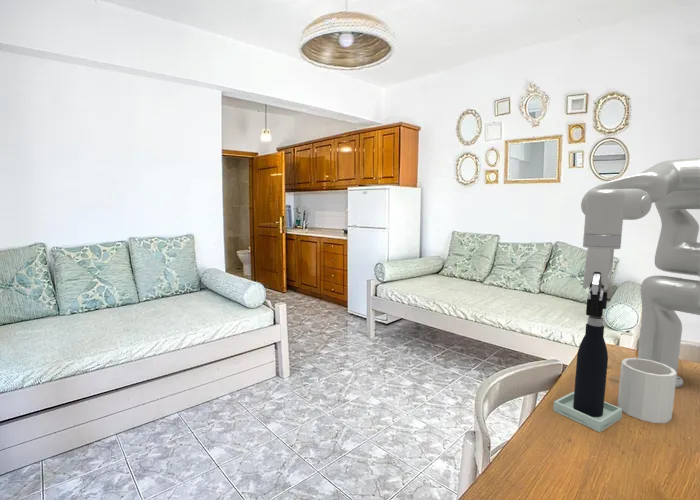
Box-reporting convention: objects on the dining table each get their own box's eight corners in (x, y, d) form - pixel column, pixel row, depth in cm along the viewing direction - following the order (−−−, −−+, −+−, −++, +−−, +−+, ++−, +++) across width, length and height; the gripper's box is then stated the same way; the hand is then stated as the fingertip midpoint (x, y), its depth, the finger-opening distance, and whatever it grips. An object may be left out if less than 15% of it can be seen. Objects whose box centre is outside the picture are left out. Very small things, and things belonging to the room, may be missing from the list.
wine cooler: (628, 396, 104) (633, 355, 103) (677, 414, 95) (682, 369, 94) (610, 407, 98) (614, 363, 97) (660, 427, 90) (665, 379, 88)
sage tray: (575, 398, 103) (576, 390, 102) (621, 418, 94) (622, 408, 93) (553, 410, 97) (553, 401, 97) (599, 432, 88) (600, 422, 87)
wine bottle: (607, 418, 92) (619, 298, 88) (578, 415, 93) (588, 296, 89) (596, 405, 98) (606, 291, 94) (569, 402, 99) (578, 290, 95)
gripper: (587, 237, 99) (582, 301, 101) (578, 243, 85) (573, 317, 88) (622, 239, 94) (616, 306, 97) (619, 246, 81) (612, 323, 83)
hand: (596, 311), depth 92 cm, fingers open, 9 cm apart
